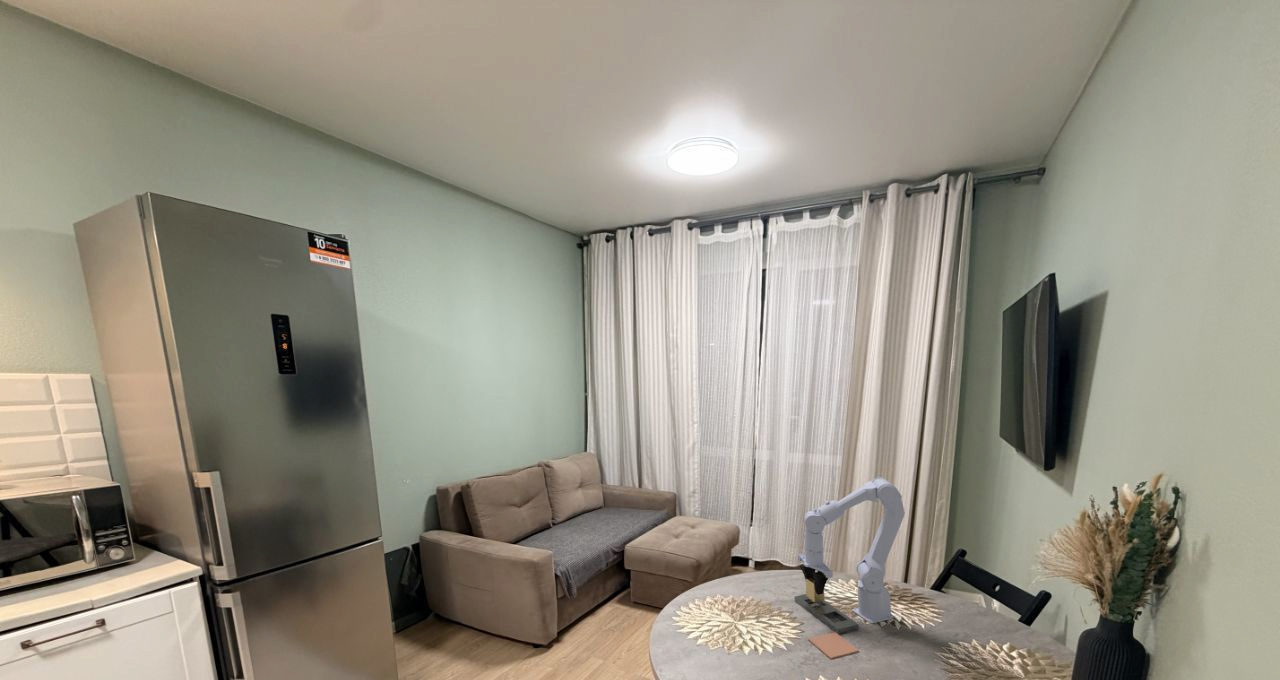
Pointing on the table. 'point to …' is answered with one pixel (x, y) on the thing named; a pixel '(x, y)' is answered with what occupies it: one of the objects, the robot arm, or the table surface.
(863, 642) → the table surface
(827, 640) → the terracotta mat
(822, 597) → the cube with round inset
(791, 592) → the table surface
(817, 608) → the metal rail
